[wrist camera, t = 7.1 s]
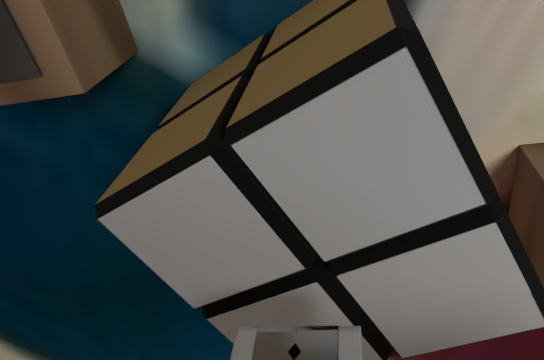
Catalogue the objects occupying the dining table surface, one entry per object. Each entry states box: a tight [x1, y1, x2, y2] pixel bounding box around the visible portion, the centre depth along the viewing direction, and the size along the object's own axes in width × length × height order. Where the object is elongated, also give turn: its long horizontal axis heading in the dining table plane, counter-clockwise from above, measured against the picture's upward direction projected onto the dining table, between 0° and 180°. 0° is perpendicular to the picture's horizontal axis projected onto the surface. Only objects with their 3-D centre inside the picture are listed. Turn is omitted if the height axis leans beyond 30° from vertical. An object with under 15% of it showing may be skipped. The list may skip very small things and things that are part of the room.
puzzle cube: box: [95, 0, 544, 360], centre depth 16 cm, size 10×10×10 cm
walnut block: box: [0, 0, 138, 106], centre depth 16 cm, size 5×5×5 cm
